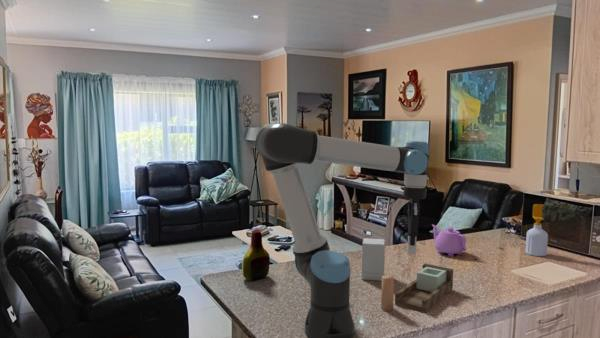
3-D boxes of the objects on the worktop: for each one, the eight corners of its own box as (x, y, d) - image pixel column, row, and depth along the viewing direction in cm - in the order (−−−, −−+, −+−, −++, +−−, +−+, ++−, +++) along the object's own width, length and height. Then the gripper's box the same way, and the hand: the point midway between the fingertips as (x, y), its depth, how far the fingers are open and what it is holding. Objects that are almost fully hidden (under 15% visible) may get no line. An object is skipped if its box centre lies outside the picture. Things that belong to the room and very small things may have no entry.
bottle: (266, 273, 188) (266, 226, 186) (273, 278, 182) (273, 229, 180) (239, 278, 182) (239, 229, 180) (245, 283, 176) (245, 233, 174)
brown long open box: (425, 312, 150) (426, 289, 149) (394, 304, 157) (395, 282, 156) (452, 289, 171) (453, 269, 170) (424, 283, 177) (425, 263, 177)
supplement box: (383, 281, 179) (384, 244, 178) (361, 279, 181) (361, 243, 180) (384, 274, 188) (385, 238, 187) (362, 272, 190) (363, 237, 188)
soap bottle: (527, 255, 215) (530, 204, 212) (524, 250, 224) (526, 201, 221) (548, 257, 212) (551, 205, 210) (544, 252, 221) (547, 202, 218)
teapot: (421, 250, 223) (422, 225, 222) (440, 245, 231) (441, 221, 230) (456, 260, 207) (457, 233, 206) (475, 255, 215) (476, 229, 214)
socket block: (437, 293, 162) (437, 277, 162) (416, 288, 167) (416, 272, 167) (445, 286, 170) (446, 270, 169) (425, 281, 174) (426, 266, 174)
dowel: (389, 312, 151) (390, 280, 149) (378, 309, 153) (379, 277, 152) (395, 308, 154) (396, 276, 153) (384, 305, 156) (385, 274, 155)
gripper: (429, 189, 147) (424, 260, 150) (424, 184, 160) (420, 249, 163) (405, 188, 148) (401, 258, 151) (402, 183, 161) (399, 247, 164)
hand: (411, 253), depth 157 cm, fingers closed
